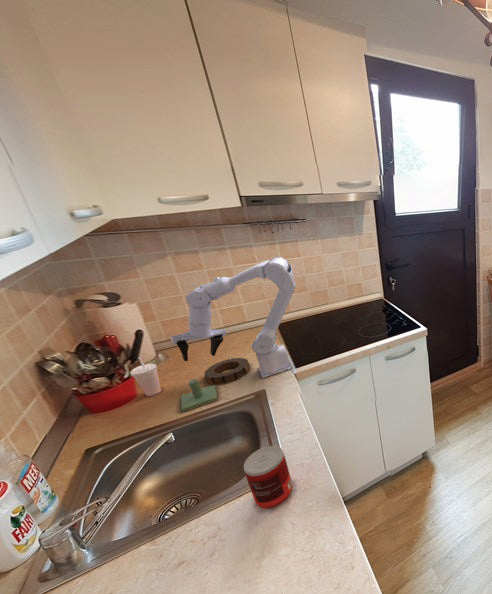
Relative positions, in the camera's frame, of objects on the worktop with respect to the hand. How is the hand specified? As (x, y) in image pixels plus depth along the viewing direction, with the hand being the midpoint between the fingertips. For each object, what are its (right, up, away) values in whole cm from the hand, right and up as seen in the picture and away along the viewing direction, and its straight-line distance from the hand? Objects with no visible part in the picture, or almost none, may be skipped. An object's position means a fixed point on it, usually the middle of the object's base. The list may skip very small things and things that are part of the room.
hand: (199, 357), depth 116 cm
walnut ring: (+4, -8, +8) cm, 12 cm away
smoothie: (-14, -12, -2) cm, 18 cm away
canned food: (+51, -26, -38) cm, 68 cm away
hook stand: (+5, -13, -6) cm, 15 cm away
